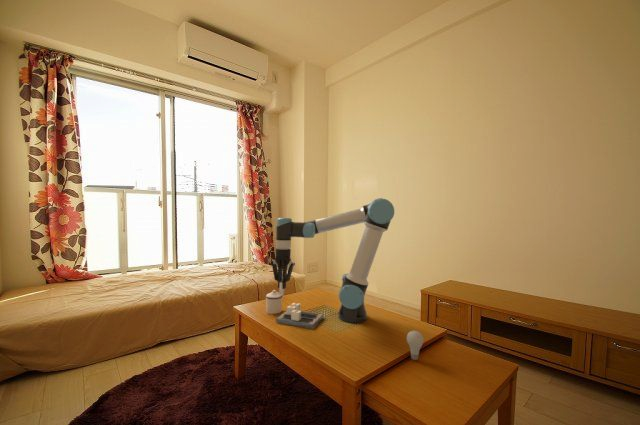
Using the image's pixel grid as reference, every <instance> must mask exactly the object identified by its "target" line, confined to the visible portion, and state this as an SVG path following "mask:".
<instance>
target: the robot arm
mask: <svg viewBox="0 0 640 425" xmlns="http://www.w3.org/2000/svg"><path fill="white" fill-rule="evenodd" d="M394 216H395V207H394V204H393V203H392V202H391V201H390V200H389V199H386V198H380V197H379V198H375V199H374V200H373V201H371V202H370V203H369V204H366V205H362V206H361V207H360V208H358V209H353V210H350V211H345V212H341V213H337V214H334V215H330V216H326V217H321V218H316V219H314V220H313V219H312V220H310V221H304V222H303V221H302V222H300V221H299V222H296V221H292V218H291V217H278V218H277V220H276V226H275V228H276V229H275V230H276V231H275V232H276V233H275V234H276V237H275V258H274V260H271V261H270V264H271V267H272V271H273V277H274V278H273V279H274V281H277V288H278V289H279V290H278V293H279V295H280V296H282V297H283V296H284V295H285V290H286V288H287V282H289V281H291V277H292V272H293V269H294V266H295V265H296V263H295V262H293V261H292V258H291V247H292V246H291V244H292V238H303V239H304V238H305V239H312V238H314V237H315V235H318V234H321V233H325V232H330V231H333V230H337V229H342V228H347V227H350V226H351V227H352V226H355V225H358V224H363V223H364V225H365V228H364V231H363V232H362V233H363V234H362V235H361V239H360V243H359V245H358V248H357V251H356V253H355V257H354V259H353V263H352V265H351V268H350V270H349V273H344V274H343V275H342V278H341V280H342V281H341V282H342V283H341V287H340V289H339V292H338V298H339V301H340V303H341V304H340V307H339V309H338V315H337V317H338V319H339V320H341V321H342V322H346V323H352V324H355V323H356V324H357V323H363V322H365V321H367V320H368V313H367V310H366V306H365V295H366V292H367V289H368V286H369V281H368V277H369V274H370V271H371V268H372V265H373V263H374V262H373V261H374V260H375V257H376V253H377V251H378V248H379V245H380V243H381V240H382V237H383V233H384V232H386V231H388V229H389V226H390V224H391V222H392V220H393V218H394Z"/></svg>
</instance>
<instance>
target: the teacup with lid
mask: <svg viewBox="0 0 640 425" xmlns="http://www.w3.org/2000/svg"><path fill="white" fill-rule="evenodd" d="M282 301H283V295H282V296H280V295H279V291H277V290H276V289H273V290H272V291H271V292H270V293H269V292H268V293H267V294H266V296H265V313H267V314H270V315H277V314H280V313H281V312H282V309H283V306H282V304H283V302H282Z"/></svg>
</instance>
